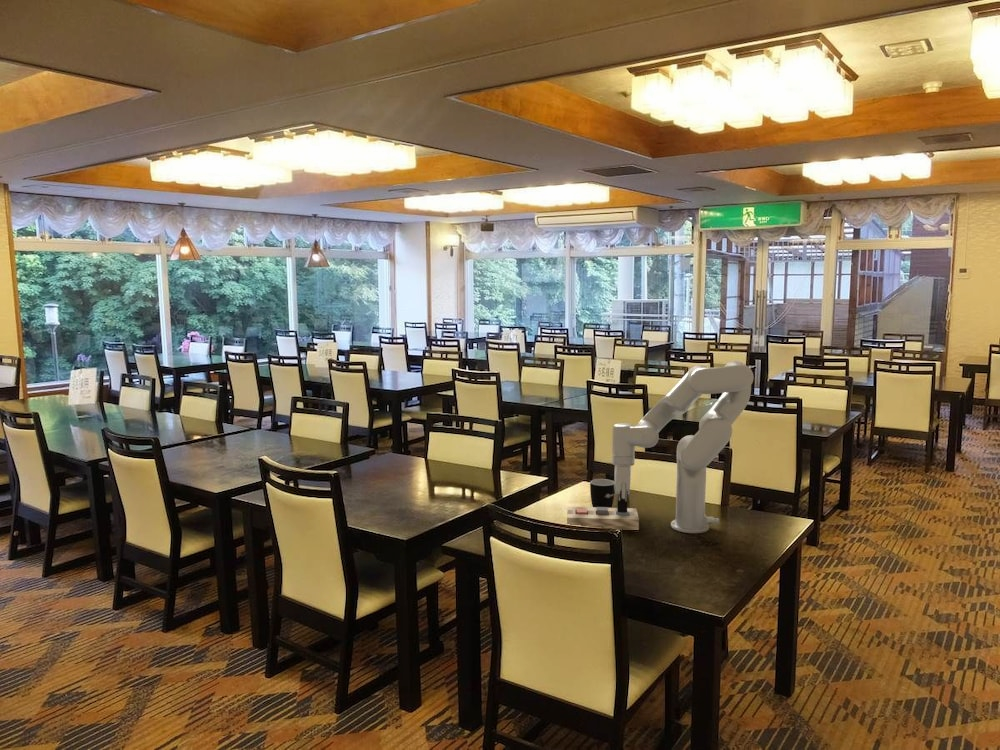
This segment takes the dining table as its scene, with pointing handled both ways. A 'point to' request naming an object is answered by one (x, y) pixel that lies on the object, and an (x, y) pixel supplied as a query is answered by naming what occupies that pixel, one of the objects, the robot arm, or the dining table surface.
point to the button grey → (602, 511)
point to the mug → (602, 493)
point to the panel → (603, 518)
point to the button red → (581, 511)
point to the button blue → (622, 513)
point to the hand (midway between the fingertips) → (622, 511)
